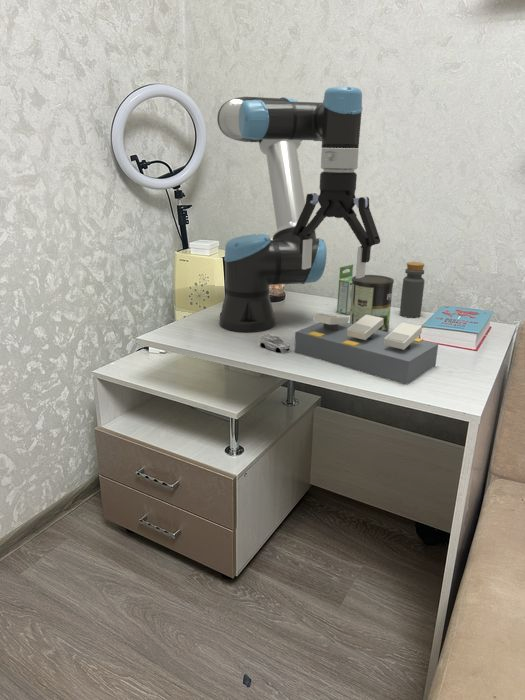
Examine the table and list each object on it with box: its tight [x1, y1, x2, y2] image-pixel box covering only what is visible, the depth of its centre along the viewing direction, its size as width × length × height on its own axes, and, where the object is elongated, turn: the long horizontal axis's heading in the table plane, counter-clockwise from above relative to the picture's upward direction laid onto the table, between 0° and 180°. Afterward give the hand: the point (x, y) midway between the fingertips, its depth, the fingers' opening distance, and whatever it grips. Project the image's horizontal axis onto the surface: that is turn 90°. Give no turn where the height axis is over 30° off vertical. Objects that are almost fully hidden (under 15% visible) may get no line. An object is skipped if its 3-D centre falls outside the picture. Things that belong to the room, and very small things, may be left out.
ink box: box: [336, 264, 355, 316], centre depth 153 cm, size 7×4×13 cm, turn 136°
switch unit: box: [294, 322, 439, 386], centre depth 118 cm, size 28×14×6 cm, turn 49°
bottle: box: [399, 261, 425, 319], centre depth 150 cm, size 6×6×15 cm
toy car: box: [259, 333, 292, 354], centre depth 124 cm, size 4×8×3 cm, turn 47°
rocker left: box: [313, 312, 350, 325], centre depth 122 cm, size 4×8×2 cm, turn 139°
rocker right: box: [384, 321, 423, 350], centre depth 111 cm, size 4×8×2 cm, turn 139°
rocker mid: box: [347, 315, 384, 340], centre depth 116 cm, size 4×8×2 cm, turn 139°
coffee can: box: [349, 274, 395, 332], centre depth 135 cm, size 10×10×14 cm
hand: (332, 272), depth 116 cm, fingers open, 13 cm apart
